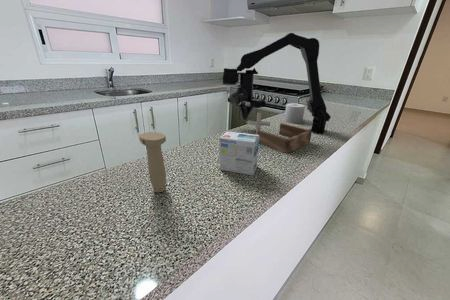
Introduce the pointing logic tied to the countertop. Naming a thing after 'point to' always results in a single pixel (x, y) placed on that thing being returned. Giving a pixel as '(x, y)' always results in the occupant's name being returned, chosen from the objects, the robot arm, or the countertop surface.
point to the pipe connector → (258, 122)
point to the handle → (155, 159)
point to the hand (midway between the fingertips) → (245, 119)
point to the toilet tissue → (294, 113)
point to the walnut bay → (295, 141)
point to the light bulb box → (239, 152)
